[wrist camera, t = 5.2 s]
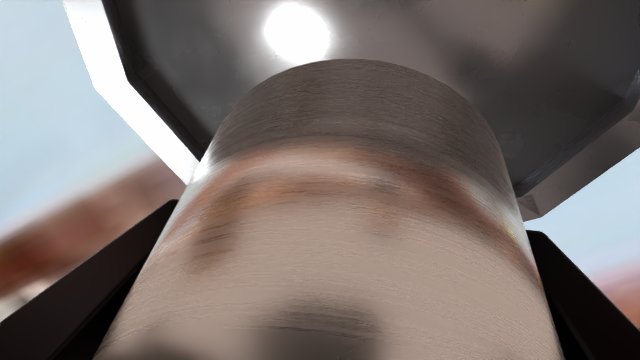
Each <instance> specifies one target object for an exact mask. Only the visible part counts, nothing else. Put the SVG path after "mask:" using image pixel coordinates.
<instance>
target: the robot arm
mask: <svg viewBox="0 0 640 360" xmlns="http://www.w3.org/2000/svg"><path fill="white" fill-rule="evenodd" d="M178 202H179V200H178V199H171V200H169V201H167V202H166V203H164V204H163V205H162V206H160V207H159V208H158V209H156V210H155V211H153V212H152V213H151V214H149V215H148V216H146V217H145V218H144V219H142V220H141V221H140V222H138V223H137V224H135V225H134V226H133V227H131V228H130V229H128V230H127V231H126V232H124V233H123V234H122V235H120V236H119V237H117V238H116V239H115V240H113V241H112V242H110V243H109V244H108V245H106V246H105V247H104V248H102V249H101V250H99V251H98V252H97V253H95V254H94V255H92V256H91V257H90V258H88V259H87V260H86V261H84V262H83V263H81V264H80V265H79V266H77V267H76V268H74V269H73V270H72V271H70V272H69V273H68V274H66V275H65V276H63V277H62V278H61V279H59V280H58V281H57V282H55V283H54V284H52V285H51V286H50V287H48V288H47V289H45V290H44V291H43V292H41V293H40V294H39V295H37V296H36V297H34V298H33V299H32V300H30V301H29V302H27V303H26V304H25V305H23V306H22V307H21V308H19V309H18V310H16V311H15V312H14V313H12V314H11V315H9V316H8V317H7V318H5V319H4V320H3V321H1V322H0V360H92V358H93V357H94V355H95V353H96V351H97V349H98V347H99V346H100V344H101V342H102V340H103V338H104V337H105V335H106V333H107V331H108V329H109V327H110V326H111V324H112V322H113V320H114V318H115V317H116V315H117V313H118V311H119V309H120V307H121V306H122V304H123V302H124V300H125V298H126V296H127V295H128V293H129V291H130V289H131V287H132V286H133V284H134V282H135V280H136V278H137V276H138V275H139V273H140V271H141V269H142V267H143V265H144V264H145V262H146V260H147V258H148V256H149V255H150V253H151V251H152V249H153V247H154V245H155V244H156V242H157V240H158V238H159V236H160V235H161V233H162V231H163V229H164V227H165V225H166V224H167V222H168V220H169V218H170V216H171V214H172V213H173V211H174V209H175V207H176V205H177V204H178ZM526 233H527V236H528V240H529V243H530V246H531V250H532V253H533V256H534V259H535V263H536V266H537V269H538V272H539V276H540V279H541V282H542V286H543V289H544V292H545V295H546V299H547V302H548V305H549V308H550V312H551V315H552V318H553V322H554V325H555V328H556V331H557V335H558V338H559V341H560V344H561V348H562V351H563V354H564V358H565V360H640V329H638V328H637V327H636V326H635V325H634V324H633V323H632V322H631V321H630V320H629V319H628V318H627V317H626V316H625V315H624V314H623V313H622V312H621V311H620V310H619V309H618V308H617V307H616V306H615V305H614V304H613V303H612V302H611V301H610V300H609V299H608V297H607V296H606V295H605V294H604V293H603V292H602V291H601V290H600V289H599V288H598V287H597V286H596V285H595V284H594V283H593V282H592V281H591V280H590V279H589V278H588V277H587V276H586V275H585V274H584V273H583V272H582V271H581V270H580V269H579V268H578V267H577V266H576V265H575V264H574V263H573V262H572V261H571V260H570V259H569V258H568V257H567V256H566V255H565V254H564V253H563V252H562V251H561V250H560V249H559V248H558V247H557V246H556V245H555V244H554V243H553V242H552V241H551V240H550V239H549V237H548V236H547V235H545V234H544V233H543V232H540V231H532V230H526Z"/></svg>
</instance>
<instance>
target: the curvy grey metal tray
mask: <svg viewBox="0 0 640 360" xmlns="http://www.w3.org/2000/svg"><path fill="white" fill-rule="evenodd" d="M62 2H63V5H64V8H65V10H66V13H67V15H68V18H69V21H70V23H71V26H72V29H73V31H74V34H75V37H76V39H77V42H78V45H79V47H80V50H81V53H82V55H83V58H84V61H85V63H86V66H87V69H88V71H89V74H90V76H91V79H92V82H93V84H94V87H95V89H96V90H97V91H98V92H99V93H100V94H101V95H102V96H103V97H104V98H105V99H106V100H107V101H108V103H109V104H110V105H111V106H112V107H113V108H114V109H115V110H116V111H117V112H118V113H119V114H120V115H121V116H122V117H123V118H124V119H125V120H126V122H127V123H128V124H129V125H130V126H131V127H132V128H133V129H134V130H135V131H136V132H137V133H138V134H139V135H140V136H141V137H142V138H143V139H144V141H145V142H146V143H147V144H148V145H149V146H150V147H151V148H152V149H153V150H154V151H155V152H156V153H157V154H158V155H159V156H160V157H161V158H162V160H163V161H164V162H165V163H166V164H167V165H168V166H169V167H170V168H171V169H172V170H173V171H174V172H175V173H176V174H177V175H178V176H179V178H180V179H181V180H182V181H183V182H184V183H185V184H186V185H188V184H189V182H190V180H191V178H192V176H193V174H194V173H195V171H196V169H197V167H198V165H199V163H200V162H201V160H202V158H203V156H204V154H205V153H206V151H207V149H208V147H209V145H210V143H211V142H212V140H213V138H214V136H215V134H216V133H217V131H218V129H219V127H220V125H221V124H222V122H223V120H224V119H225V117H226V116H227V114H228V112H229V111H230V110H231V109H232V107H233V106H234V105H235V104H236V103H237V102H238V101H239V99H240V98H241V97H243V96H244V95H245V94H246V93H247V92H249V91H250V90H251V89H252V88H254V87H255V86H256V85H258V84H260V83H261V82H263V81H265V80H266V79H268V78H270V77H271V76H273V75H276V74H278V73H280V72H283V71H285V70H288V69H290V68H293V67H296V66H300V65H304V64H308V63H311V62H317V61H324V60H332V59H367V60H376V61H384V62H388V63H392V64H397V65H401V66H405V67H408V68H411V69H413V70H416V71H419V72H421V73H424V74H427V75H429V76H431V77H433V78H435V79H436V80H438V81H440V82H442V83H444V84H446V85H447V86H449V87H450V88H452V89H453V90H455V91H456V92H457V93H459V94H460V95H461V96H463V97H464V98H465V99H467V100H468V101H469V102H470V103H471V104H472V105H473V106H474V107H475V108H476V109H477V110H478V111H479V112H480V114H481V115H482V116H483V118H484V119H485V120H486V122H487V123H488V124H489V126H490V127H491V129H492V131H493V133H494V135H495V137H496V139H497V141H498V143H499V145H500V148H501V151H502V155H503V158H504V161H505V164H506V168H507V171H508V174H509V178H510V181H511V184H512V187H513V191H514V194H515V197H516V200H517V204H518V207H519V210H520V214H521V217H522V220H523V222H525V221H529V220H533V219H536V218H540V217H542V216H544V215H545V214H547V213H548V212H549V211H551V210H552V209H554V208H555V207H556V206H558V205H559V204H561V203H562V202H563V201H565V200H566V199H568V198H569V197H570V196H572V195H573V194H575V193H576V192H577V191H579V190H580V189H582V188H583V187H585V186H586V185H587V184H589V183H590V182H592V181H593V180H594V179H596V178H597V177H599V176H600V175H601V174H603V173H604V172H606V171H607V170H608V169H610V168H611V167H613V166H614V165H615V164H617V163H618V162H620V161H621V160H622V159H624V158H625V157H627V156H628V155H629V154H631V153H632V152H634V151H635V150H637V149H638V148H639V147H640V0H62Z"/></svg>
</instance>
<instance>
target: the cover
mask: <svg viewBox="0 0 640 360" xmlns="http://www.w3.org/2000/svg"><path fill="white" fill-rule="evenodd" d="M92 360H565V358H564V354H563V351H562V348H561V344H560V341H559V338H558V335H557V331H556V328H555V325H554V322H553V318H552V315H551V312H550V308H549V305H548V302H547V299H546V295H545V292H544V289H543V286H542V282H541V279H540V276H539V272H538V269H537V266H536V263H535V259H534V256H533V253H532V250H531V246H530V243H529V240H528V236H527V233H526V230H525V227H524V223H523V220H522V217H521V214H520V210H519V207H518V204H517V200H516V197H515V194H514V191H513V187H512V184H511V181H510V178H509V174H508V171H507V168H506V164H505V161H504V158H503V155H502V151H501V148H500V145H499V143H498V141H497V139H496V137H495V135H494V133H493V131H492V129H491V127H490V126H489V124H488V123H487V122H486V120H485V119H484V118H483V116H482V115H481V114H480V112H479V111H478V110H477V109H476V108H475V107H474V106H473V105H472V104H471V103H470V102H469V101H468V100H467V99H465V98H464V97H463V96H461V95H460V94H459V93H457V92H456V91H455V90H453V89H452V88H450V87H449V86H447V85H446V84H444V83H442V82H440V81H438V80H436V79H435V78H433V77H431V76H429V75H427V74H424V73H421V72H419V71H416V70H413V69H411V68H408V67H405V66H401V65H397V64H392V63H388V62H384V61H376V60H367V59H332V60H324V61H317V62H311V63H308V64H304V65H300V66H296V67H293V68H290V69H288V70H285V71H283V72H280V73H278V74H276V75H273V76H271V77H270V78H268V79H266V80H265V81H263V82H261V83H260V84H258V85H256V86H255V87H254V88H252V89H251V90H250V91H249V92H247V93H246V94H245V95H244V96H243V97H241V98H240V99H239V101H238V102H237V103H236V104H235V105H234V106H233V107H232V109H231V110H230V111H229V112H228V114H227V116H226V117H225V119H224V120H223V122H222V124H221V125H220V127H219V129H218V131H217V133H216V134H215V136H214V138H213V140H212V142H211V143H210V145H209V147H208V149H207V151H206V153H205V154H204V156H203V158H202V160H201V162H200V163H199V165H198V167H197V169H196V171H195V173H194V174H193V176H192V178H191V180H190V182H189V184H188V185H187V187H186V189H185V191H184V193H183V194H182V196H181V198H180V200H179V202H178V204H177V205H176V207H175V209H174V211H173V213H172V214H171V216H170V218H169V220H168V222H167V224H166V225H165V227H164V229H163V231H162V233H161V235H160V236H159V238H158V240H157V242H156V244H155V245H154V247H153V249H152V251H151V253H150V255H149V256H148V258H147V260H146V262H145V264H144V265H143V267H142V269H141V271H140V273H139V275H138V276H137V278H136V280H135V282H134V284H133V286H132V287H131V289H130V291H129V293H128V295H127V296H126V298H125V300H124V302H123V304H122V306H121V307H120V309H119V311H118V313H117V315H116V317H115V318H114V320H113V322H112V324H111V326H110V327H109V329H108V331H107V333H106V335H105V337H104V338H103V340H102V342H101V344H100V346H99V347H98V349H97V351H96V353H95V355H94V357H93V358H92Z"/></svg>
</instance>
